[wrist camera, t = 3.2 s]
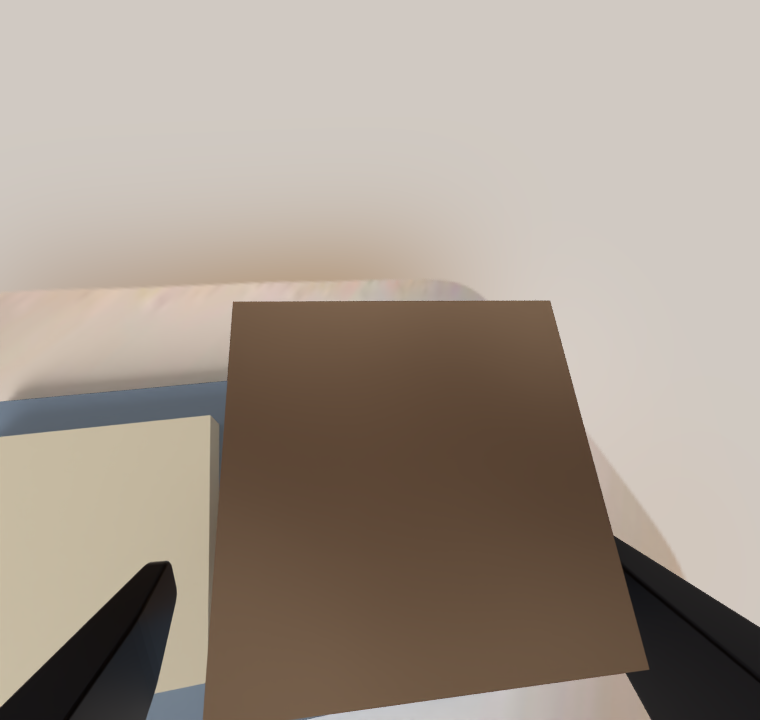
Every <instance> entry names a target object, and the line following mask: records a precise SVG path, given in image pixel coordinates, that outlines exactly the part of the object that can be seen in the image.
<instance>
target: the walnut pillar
mask: <svg viewBox="0 0 760 720" xmlns="http://www.w3.org/2000/svg"><path fill="white" fill-rule="evenodd" d="M643 670H650V669H649V666H648V662H647V658H646V655H645V651H644V647H643V644H642V640H641V636H640V632H639V629H638V625H637V621H636V618H635V614H634V610H633V606H632V603H631V599H630V595H629V592H628V588H627V584H626V580H625V577H624V573H623V569H622V566H621V562H620V558H619V554H618V551H617V547H616V543H615V540H614V536H613V532H612V529H611V525H610V521H609V517H608V514H607V510H606V506H605V503H604V499H603V495H602V491H601V488H600V484H599V480H598V477H597V473H596V469H595V465H594V462H593V458H592V454H591V451H590V447H589V443H588V440H587V436H586V432H585V428H584V425H583V421H582V418H581V414H580V410H579V406H578V402H577V399H576V395H575V392H574V388H573V384H572V380H571V376H570V373H569V369H568V365H567V362H566V358H565V354H564V350H563V347H562V343H561V339H560V336H559V332H558V329H557V325H556V321H555V317H554V314H553V310H552V306H551V302H550V301H306V302H233V309H232V323H231V336H230V350H229V364H228V378H227V392H226V405H225V419H224V433H223V447H222V461H221V474H220V488H219V502H218V516H217V529H216V543H215V557H214V571H213V585H212V598H211V612H210V626H209V640H208V654H207V667H206V681H205V695H204V709H203V720H293V719H300V718H307V717H314V716H322V715H329V714H336V713H343V712H350V711H357V710H364V709H372V708H379V707H386V706H393V705H400V704H407V703H414V702H422V701H429V700H436V699H443V698H450V697H457V696H464V695H472V694H479V693H486V692H493V691H500V690H507V689H514V688H522V687H529V686H536V685H543V684H550V683H557V682H564V681H572V680H579V679H586V678H593V677H600V676H607V675H615V674H622V673H629V672H636V671H643Z"/></svg>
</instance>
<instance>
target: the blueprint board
mask: <svg viewBox="0 0 760 720" xmlns="http://www.w3.org/2000/svg"><path fill="white" fill-rule="evenodd" d="M226 392H227V381H221V382H210V383H199V384H188V385H177V386H166V387H155V388H145V389H134V390H123V391H112V392H101V393H90V394H79V395H68V396H57V397H46V398H35V399H24V400H14V401H3V402H0V707H1V706H2V705H3V704H4V703H5V702H6V701H7V700H8V699H9V698H10V697H11V696H12V695H13V694H14V693H15V692H16V691H17V690H18V689H19V688H20V687H21V686H22V685H23V684H24V683H25V682H26V681H27V680H28V679H29V678H30V677H31V676H32V675H33V674H34V673H35V672H37V671H38V670H39V669H40V668H41V667H42V666H43V665H44V664H45V663H46V662H47V661H48V660H49V659H50V658H51V657H52V656H53V655H54V654H55V653H56V652H57V651H58V650H59V649H60V648H61V647H62V646H63V645H64V644H65V643H66V642H67V641H68V640H69V639H70V638H71V637H72V636H73V635H74V634H75V633H76V632H77V631H78V630H79V629H80V628H81V627H82V626H83V625H84V624H85V623H86V622H87V621H88V620H89V619H90V618H91V617H92V616H94V615H95V614H96V613H97V612H98V611H99V610H100V609H101V608H102V607H103V606H104V605H105V604H106V603H107V602H108V601H109V600H110V599H111V598H112V597H113V596H114V595H115V594H116V593H117V592H118V591H119V590H120V589H121V588H122V587H123V586H124V585H125V584H126V583H127V582H128V581H129V580H130V579H131V578H132V577H133V576H134V575H135V574H136V573H137V572H138V571H139V570H140V569H141V568H142V567H143V566H144V565H146V564H147V563H149V562H156V561H169V562H170V563H171V565H172V569H173V574H174V578H175V583H176V587H177V599H176V604H175V608H174V613H173V617H172V622H171V626H170V631H169V635H168V639H167V644H166V648H165V653H164V657H163V661H162V666H161V670H160V674H159V678H158V683H157V686H156V690H155V693H154V696H153V700H152V703H151V706H150V709H149V712H148V715H147V718H146V720H203V709H204V695H205V681H206V667H207V654H208V640H209V626H210V612H211V598H212V585H213V571H214V557H215V543H216V529H217V516H218V502H219V488H220V474H221V461H222V447H223V433H224V419H225V405H226ZM322 716H324V715H322ZM315 717H320V716H314V717H307V718H300V719H293V720H307V719H311V718H315Z"/></svg>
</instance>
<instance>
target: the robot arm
mask: <svg viewBox="0 0 760 720" xmlns="http://www.w3.org/2000/svg"><path fill="white" fill-rule="evenodd" d="M614 540H615V543H616V547H617V551H618V554H619V558H620V562H621V566H622V569H623V573H624V577H625V580H626V584H627V588H628V592H629V595H630V599H631V603H632V606H633V610H634V614H635V618H636V621H637V625H638V629H639V632H640V636H641V640H642V644H643V647H644V651H645V655H646V658H647V662H648V666H649V669H650V670H643V671H636V672H629V673H626V675H627V676H628V678H629V680H630V682H631V684H632V685H633V687H634V689H635V691H636V693H637V695H638V696H639V698H640V700H641V702H642V704H643V706H644V707H645V709H646V711H647V713H648V715H649V716H650V718H651V720H760V627H759V626H757V625H755V624H754V623H752V622H750V621H749V620H747V619H746V618H744V617H742V616H741V615H739V614H738V613H736V612H735V611H733V610H731V609H730V608H728V607H727V606H725V605H723V604H722V603H720V602H719V601H717V600H715V599H714V598H712V597H711V596H709V595H708V594H706V593H704V592H702V591H701V590H700V589H698V588H696V587H695V586H693V585H692V584H690V583H688V582H687V581H685V580H684V579H682V578H680V577H679V576H677V575H676V574H674V573H672V572H671V571H669V570H668V569H666V568H664V567H663V566H661V565H660V564H658V563H657V562H655V561H653V560H652V559H650V558H649V557H647V556H645V555H644V554H642V553H641V552H639V551H637V550H636V549H634V548H633V547H631V546H629V545H628V544H626V543H625V542H623V541H621V540H620V539H618V538H617V537H615V536H614ZM176 599H177V587H176V583H175V578H174V574H173V569H172V565H171V563H170V562H169V561H156V562H149V563H147V564H146V565H144V566H143V567H142V568H141V569H140V570H139V571H138V572H137V573H136V574H135V575H134V576H133V577H132V578H131V579H130V580H129V581H128V582H127V583H126V584H125V585H124V586H123V587H122V588H121V589H120V590H119V591H118V592H117V593H116V594H115V595H114V596H113V597H112V598H111V599H110V600H109V601H108V602H107V603H106V604H105V605H104V606H103V607H102V608H101V609H100V610H99V611H98V612H97V613H96V614H95V615H94V616H92V617H91V618H90V619H89V620H88V621H87V622H86V623H85V624H84V625H83V626H82V627H81V628H80V629H79V630H78V631H77V632H76V633H75V634H74V635H73V636H72V637H71V638H70V639H69V640H68V641H67V642H66V643H65V644H64V645H63V646H62V647H61V648H60V649H59V650H58V651H57V652H56V653H55V654H54V655H53V656H52V657H51V658H50V659H49V660H48V661H47V662H46V663H45V664H44V665H43V666H42V667H41V668H40V669H39V670H38V671H37V672H35V673H34V674H33V675H32V676H31V677H30V678H29V679H28V680H27V681H26V682H25V683H24V684H23V685H22V686H21V687H20V688H19V689H18V690H17V691H16V692H15V693H14V694H13V695H12V696H11V697H10V698H9V699H8V700H7V701H6V702H5V703H4V704H3V705H2V706H1V707H0V720H146V718H147V715H148V712H149V709H150V706H151V703H152V700H153V696H154V693H155V690H156V686H157V683H158V678H159V674H160V670H161V666H162V661H163V657H164V653H165V648H166V644H167V639H168V635H169V631H170V626H171V622H172V617H173V613H174V608H175V604H176Z"/></svg>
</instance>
